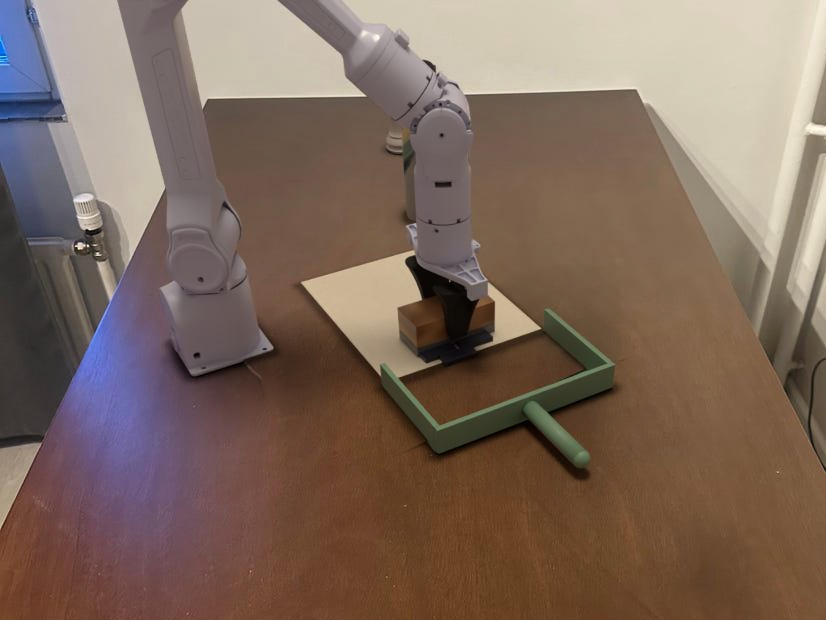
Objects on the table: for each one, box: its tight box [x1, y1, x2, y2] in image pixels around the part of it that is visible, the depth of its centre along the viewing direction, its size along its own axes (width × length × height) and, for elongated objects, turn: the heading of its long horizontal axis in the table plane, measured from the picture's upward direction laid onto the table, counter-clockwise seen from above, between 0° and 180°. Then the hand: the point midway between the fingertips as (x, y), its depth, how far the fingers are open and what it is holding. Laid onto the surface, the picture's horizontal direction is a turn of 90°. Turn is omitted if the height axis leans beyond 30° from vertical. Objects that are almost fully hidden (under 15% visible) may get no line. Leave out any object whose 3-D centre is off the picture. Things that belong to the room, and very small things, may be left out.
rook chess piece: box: [385, 118, 403, 155], centre depth 136 cm, size 4×4×8 cm
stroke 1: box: [420, 343, 457, 364], centre depth 99 cm, size 4×2×1 cm, turn 121°
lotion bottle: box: [401, 59, 437, 223], centre depth 116 cm, size 6×6×20 cm
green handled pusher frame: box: [380, 307, 616, 469], centre depth 91 cm, size 22×21×3 cm
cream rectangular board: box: [300, 249, 542, 379], centre depth 106 cm, size 20×24×1 cm
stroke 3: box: [456, 331, 493, 348], centre depth 100 cm, size 4×2×1 cm, turn 120°
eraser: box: [397, 295, 495, 357], centre depth 100 cm, size 10×4×4 cm, turn 121°
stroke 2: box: [440, 345, 478, 367], centre depth 98 cm, size 4×2×1 cm, turn 121°
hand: (447, 325), depth 101 cm, fingers closed on eraser, 4 cm apart
